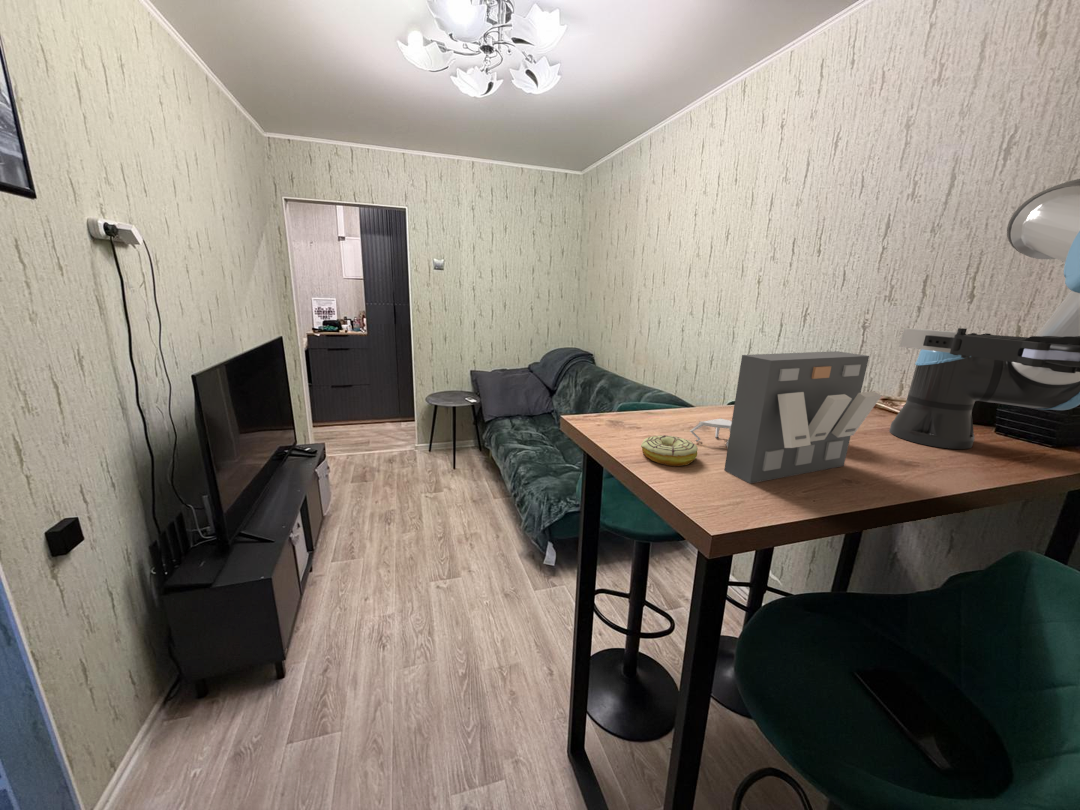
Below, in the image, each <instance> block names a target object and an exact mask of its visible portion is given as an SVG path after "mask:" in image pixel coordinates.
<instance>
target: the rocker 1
mask: <svg viewBox="0 0 1080 810" xmlns="http://www.w3.org/2000/svg"><path fill="white" fill-rule="evenodd" d="M778 402H779V409H780V417H781V424H782V432H783V439H784V447H785V448H795V447H801V446H808V445H811V443H810V436H809V428H808V421H807V413H806V406H805V399H804V392H797V393H786V394H778Z"/></svg>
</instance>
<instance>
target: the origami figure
mask: <svg viewBox="0 0 1080 810" xmlns="http://www.w3.org/2000/svg"><path fill="white" fill-rule="evenodd" d="M731 424H732V420H729V419H726V418H725V419H724V418H720V417H719V418H716V419H709V420H705V421H704V420H703V421H702V420H701V421H699V422H698V424H697V425H696V426H694V427H693V428H692V429H690V430H689V432H690V433H691V434H692V435H693V436H694V437H696V440H695V441H696V442H700V441H701V438H700V436H698V435H697V433H695V432H694V431H696V430H698V429H700V428H701V427H703V426H704V427H711V428H715V436H714V437H715V438H719V435H720V429H728V430H729V431H730V430H731ZM728 443H729V438H728V439H727V441H726V442H725V446H726V447H727V448H728Z"/></svg>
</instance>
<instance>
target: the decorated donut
mask: <svg viewBox="0 0 1080 810" xmlns="http://www.w3.org/2000/svg"><path fill="white" fill-rule="evenodd" d="M640 448H641V450H642V454H643V455H644V456H645V457H646V458H648V459H649V460H650V461H652V462H655V463H656V464H657V463H658V464H660V465H665V466H671V467H682V466H687V465H689V464H690V463H692V462H694V461H695V460H696V458H697V456H698V450H699V449H698V446H697V445H696V444H695V443H694V442H692V441H691V440H689V439H686V438H683V437H678V436H675V435H673V436H672V435H664V434H663V435H653V436H648V437H646V438H644V439H643V441H642V442H641V444H640Z"/></svg>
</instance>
